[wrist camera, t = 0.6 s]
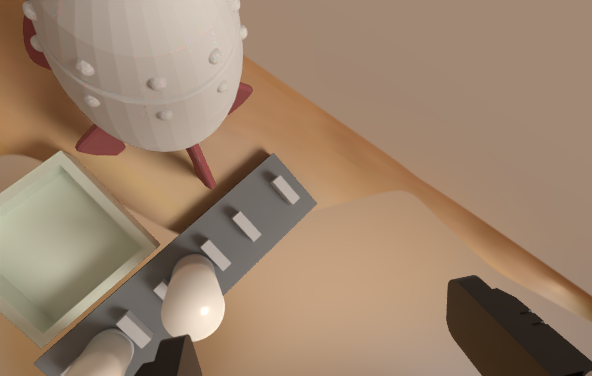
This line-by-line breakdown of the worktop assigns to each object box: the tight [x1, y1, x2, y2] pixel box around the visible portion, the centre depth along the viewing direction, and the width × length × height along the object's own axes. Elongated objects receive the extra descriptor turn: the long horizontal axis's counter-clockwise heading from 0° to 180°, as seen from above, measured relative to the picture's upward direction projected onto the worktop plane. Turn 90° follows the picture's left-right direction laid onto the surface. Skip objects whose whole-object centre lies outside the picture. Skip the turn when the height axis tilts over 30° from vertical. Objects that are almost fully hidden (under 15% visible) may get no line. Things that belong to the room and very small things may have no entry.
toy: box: [22, 0, 253, 189], centre depth 19 cm, size 11×11×30 cm
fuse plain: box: [161, 253, 225, 341], centre depth 25 cm, size 4×4×12 cm
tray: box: [0, 150, 160, 349], centre depth 28 cm, size 11×11×3 cm
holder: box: [34, 153, 317, 376], centre depth 31 cm, size 7×27×3 cm, turn 132°
